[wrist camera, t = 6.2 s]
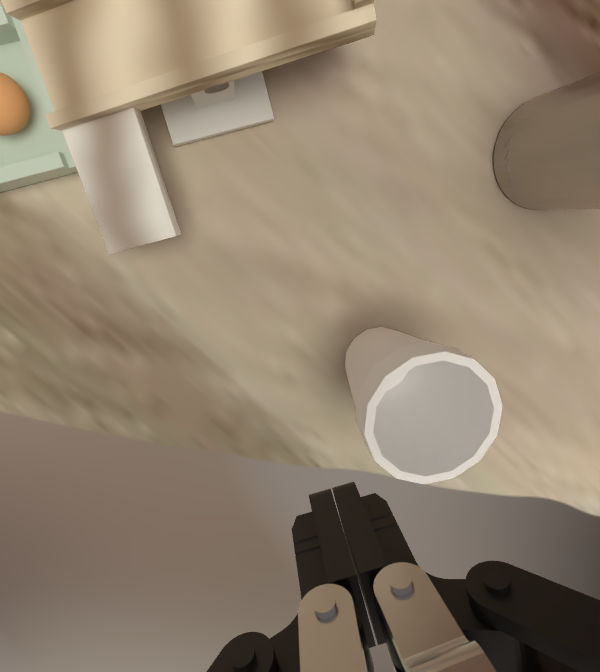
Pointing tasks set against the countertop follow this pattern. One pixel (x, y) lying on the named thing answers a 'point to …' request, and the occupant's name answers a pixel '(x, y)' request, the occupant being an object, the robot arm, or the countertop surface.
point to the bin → (36, 137)
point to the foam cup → (421, 405)
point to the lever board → (159, 81)
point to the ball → (12, 106)
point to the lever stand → (218, 110)
